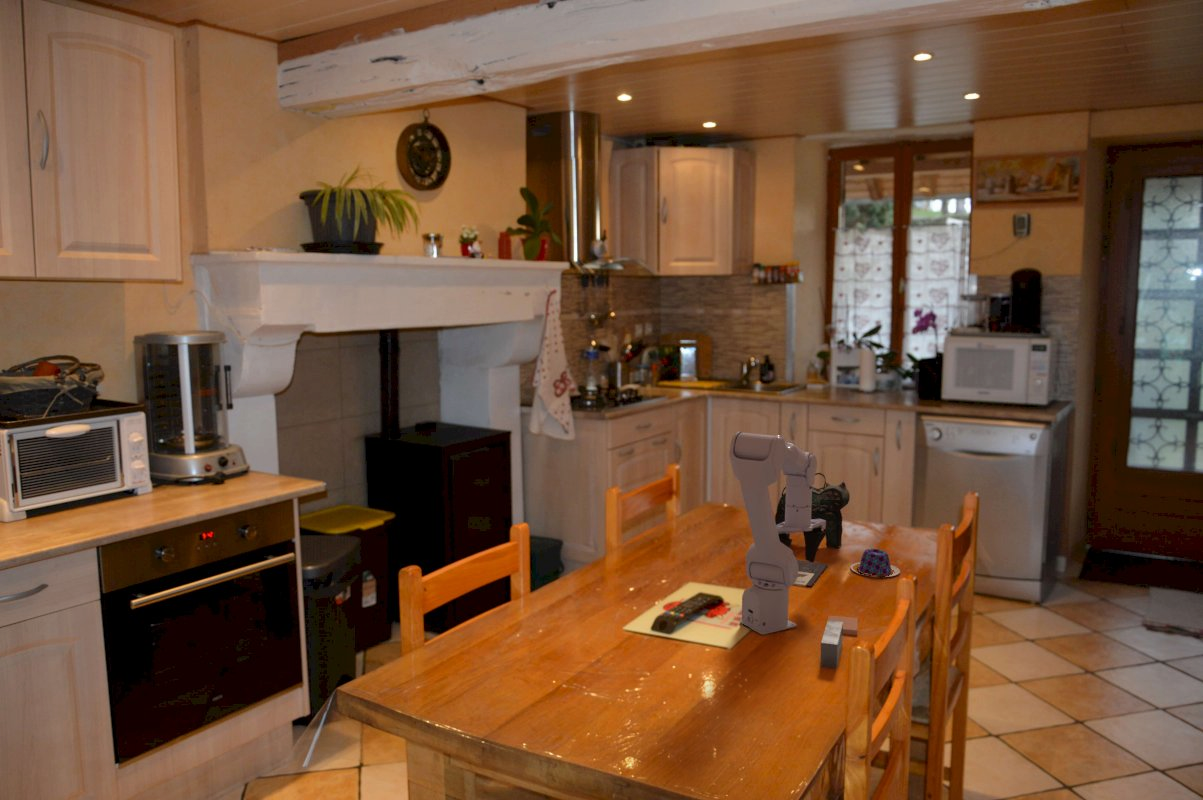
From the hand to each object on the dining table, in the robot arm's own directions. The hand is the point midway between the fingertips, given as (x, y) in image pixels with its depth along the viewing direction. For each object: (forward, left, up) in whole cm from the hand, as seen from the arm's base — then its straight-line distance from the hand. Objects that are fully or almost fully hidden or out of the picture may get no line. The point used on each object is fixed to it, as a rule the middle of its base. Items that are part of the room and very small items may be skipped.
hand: (796, 563), depth 206 cm
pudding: (+33, +8, -10) cm, 35 cm away
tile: (-3, -18, -9) cm, 20 cm away
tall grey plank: (-13, -25, -10) cm, 30 cm away
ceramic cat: (+35, +34, -10) cm, 50 cm away
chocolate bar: (+15, +15, -10) cm, 24 cm away
